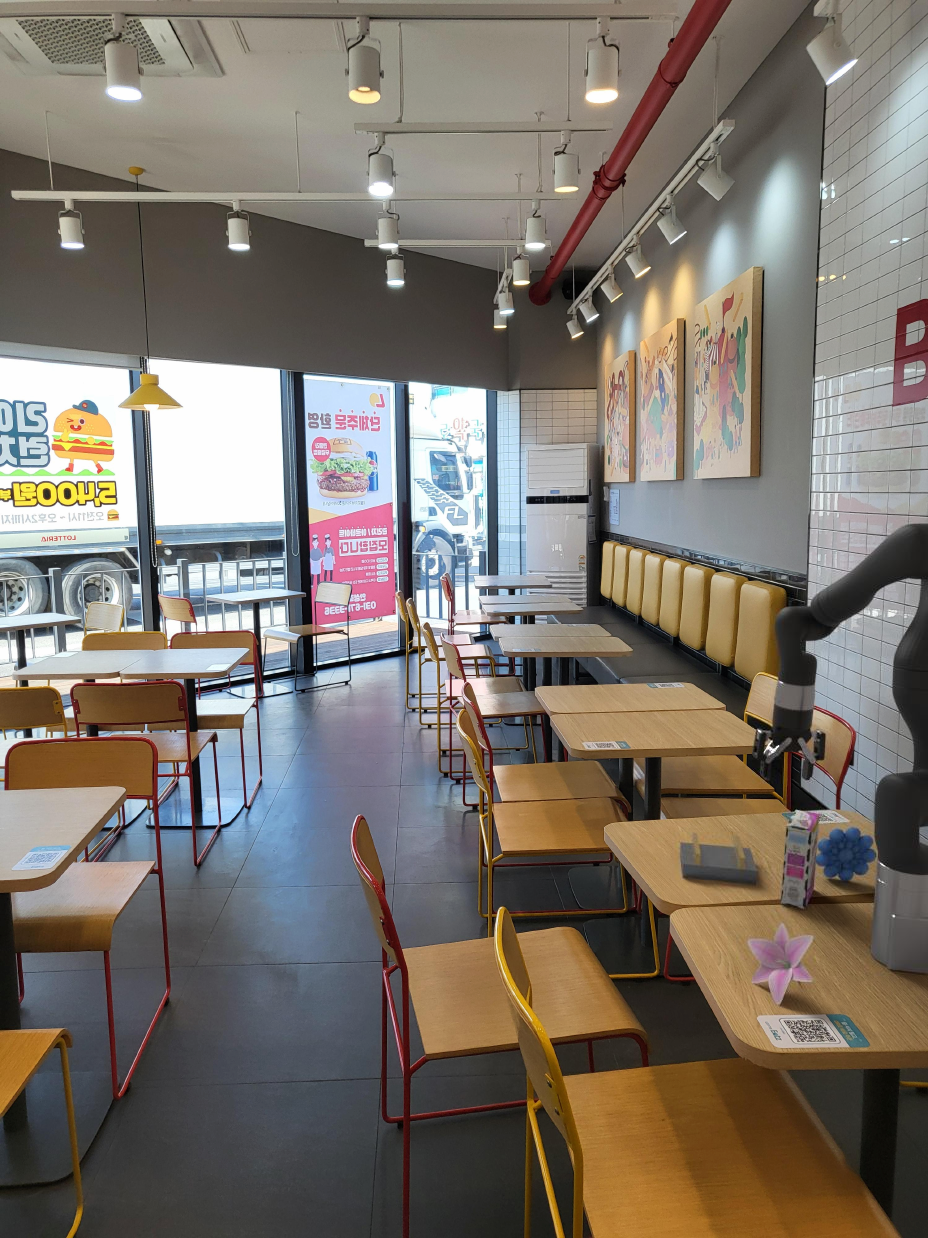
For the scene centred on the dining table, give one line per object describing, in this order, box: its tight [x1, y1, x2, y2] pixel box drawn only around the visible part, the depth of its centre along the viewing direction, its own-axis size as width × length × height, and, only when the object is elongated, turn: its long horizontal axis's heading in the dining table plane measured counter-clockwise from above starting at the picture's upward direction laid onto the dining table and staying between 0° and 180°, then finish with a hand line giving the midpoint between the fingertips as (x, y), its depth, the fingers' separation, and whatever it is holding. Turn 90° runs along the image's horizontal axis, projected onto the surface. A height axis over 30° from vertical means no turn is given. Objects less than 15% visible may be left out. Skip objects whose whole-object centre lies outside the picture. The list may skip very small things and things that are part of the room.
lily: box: [747, 922, 814, 1006], centre depth 134 cm, size 12×12×10 cm
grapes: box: [816, 826, 878, 882], centre depth 174 cm, size 12×7×12 cm, turn 69°
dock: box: [679, 832, 758, 885], centre depth 179 cm, size 12×15×6 cm
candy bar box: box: [780, 809, 820, 910], centre depth 166 cm, size 11×5×16 cm, turn 149°
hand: (785, 779), depth 170 cm, fingers open, 8 cm apart
